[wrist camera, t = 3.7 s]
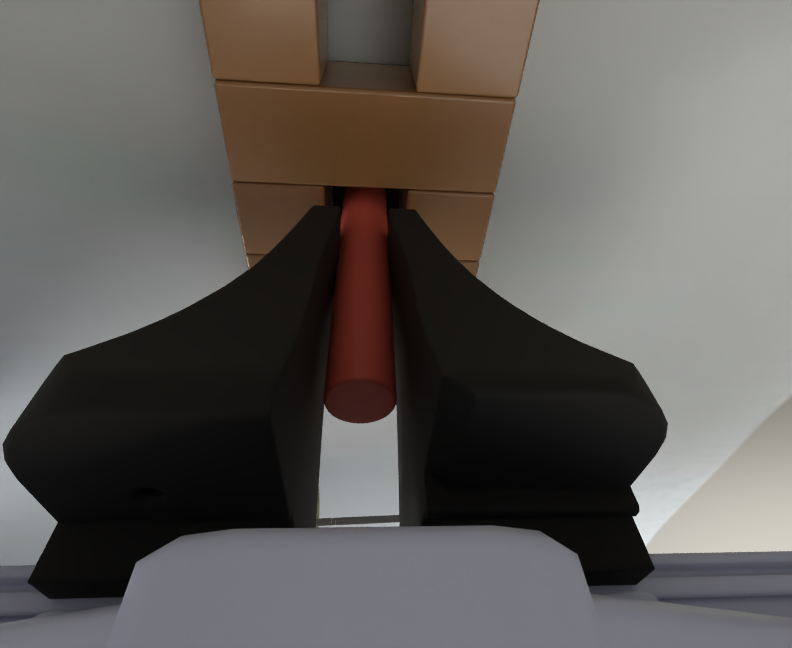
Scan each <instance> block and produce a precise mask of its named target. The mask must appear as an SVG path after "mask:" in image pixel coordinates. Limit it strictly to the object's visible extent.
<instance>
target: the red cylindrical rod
mask: <svg viewBox="0 0 792 648" xmlns="http://www.w3.org/2000/svg"><path fill="white" fill-rule="evenodd" d="M340 232H341V237H340V248H339V259H338V265H337V271H336V277H335V287H334V297H333V307H332V317H331V327H330V338H329V348H328V358H327V368H326V378H325V388H324V398H323V399H324V404H325V406H326V408H327V410H328V411H329V412H330V413H331V414H332V415H333V416H334V417H336V418H338V419H340V420H343V421H346V422H350V423H370V422H374V421H378V420H380V419H382V418H384V417H386V416H387V415H389V414H390V413H391V412H392V410H393V409H394V407H395V405H396V402H397V388H396V370H395V352H394V333H393V315H392V296H391V279H390V269H389V261H388V242H387V234H388V222H387V204H386V188H373V187H350V186H345V187H344V197H343V207H342V217H341V227H340Z"/></svg>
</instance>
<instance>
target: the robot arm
mask: <svg viewBox="0 0 792 648" xmlns="http://www.w3.org/2000/svg"><path fill="white" fill-rule="evenodd" d="M340 237H341V232H340V206H318V205H314V206H312V207H311V208H310V209H309V210H308V211H307V213H306V214H305V215H304V216H303V217H302V218H301V220H300V221H299V222H298V223H297V224H296V225H295V226H294V227H293V229H292V230H291V231H290V232H289V233H288V234H287V235H286V236H285V237H284V238H283V239H282V240H281V241H280V242H279V243H278V244H277V245H276V246H275V247H274V248H273V249H272V250H271V251H270V252H269V253H267V254H266V255H265V256H264V257H263V258H262V259H261V260H260V261H258V262H257V263H256V264H255V265H254V266H253V267H251V268H250V269H249V270H247V271H246V272H245V273H243V274H242V275H240V276H239V277H237V278H236V279H235V280H233V281H232V282H230V283H229V284H227V285H226V286H224V287H222V288H221V289H219V290H217V291H216V292H214V293H212V294H210V295H209V296H207V297H205V298H203V299H201V300H200V301H198V302H196V303H194V304H192V305H191V306H189V307H187V308H185V309H183V310H181V311H179V312H177V313H175V314H172V315H170V316H168V317H166V318H164V319H162V320H159V321H157V322H155V323H152V324H150V325H148V326H145V327H143V328H141V329H138V330H136V331H133V332H130V333H128V334H125V335H122V336H120V337H117V338H114V339H111V340H108V341H105V342H102V343H99V344H97V345H94V346H91V347H88V348H85V349H82V350H79V351H76V352H73V353H70V354H67V355H64V356H63V357H62V358H61V360H60V361H59V362H58V363H57V365H56V366H55V367H54V369H53V370H52V372H51V373H50V374H49V376H48V377H47V378H46V380H45V381H44V382H43V384H42V385H41V387H40V388H39V390H38V391H37V393H36V394H35V395H34V397H33V398H32V400H31V401H30V403H29V404H28V405H27V407H26V408H25V410H24V411H23V413H22V414H21V415H20V417H19V418H18V420H17V421H16V423H15V424H14V426H13V427H12V428H11V430H10V432H9V433H8V435H7V437H6V439H5V441H4V443H3V451H4V459H5V461H6V463H7V465H8V467H9V468H10V470H11V471H12V472H13V474H14V475H15V477H16V478H17V480H18V481H19V482H20V483H21V484H22V485H23V486H24V487H25V488H26V489H27V490H28V491H29V492H30V493H31V494H32V495H33V497H34V498H35V499H36V500H37V501H38V502H39V503H40V504H41V505H42V506H43V507H44V508H45V509H46V510H47V511H48V512H49V513H50V514H51V515H52V516H53V517H54V518H55V520H56V521H57V522H58V524H57V526H56V527H55V529H54V531H53V533H52V535H51V537H50V539H49V541H48V543H47V545H46V547H45V549H44V551H43V553H42V555H41V556H40V558H39V560H38V562H37V564H36V565H29V566H0V648H792V551H786V552H785V551H782V552H781V551H780V552H734V553H733V552H732V553H731V552H727V553H674V554H649V553H648V551H647V549H646V547H645V544H644V542H643V540H642V538H641V535H640V533H639V531H638V528H637V526H636V524H635V522H634V519H633V517H632V516H636V515H637V514H638V513H639V504H638V502H637V500H636V498H635V496H634V494H633V491H632V489H631V487H630V486H631V485H632V483H633V482H634V481H635V480H636V479H637V477H638V476H639V475H640V474H641V472H642V471H643V470H644V469H645V468H646V466H647V465H648V464H649V463H650V461H651V460H652V459H653V458H654V457H655V455H656V454H657V452H658V450H659V449H660V447H661V445H662V444H663V442H664V440H665V438H666V433H667V425H668V423H667V421H666V418H665V416H664V414H663V411H662V409H661V408H660V406H659V404H658V403H657V401H656V399H655V398H654V396H653V394H652V392H651V391H650V389H649V387H648V386H647V384H646V382H645V381H644V379H643V378H642V376H641V374H640V373H639V371H638V370H637V368H636V367H635V366H634V364H633V363H630V362H628V361H626V360H623V359H621V358H618V357H616V356H613V355H611V354H608V353H606V352H604V351H601V350H599V349H596V348H594V347H591V346H589V345H586V344H584V343H582V342H579V341H577V340H575V339H573V338H571V337H569V336H567V335H565V334H563V333H561V332H559V331H557V330H555V329H553V328H551V327H549V326H547V325H546V324H544V323H542V322H540V321H538V320H537V319H535V318H533V317H531V316H530V315H528V314H527V313H525V312H523V311H522V310H520V309H519V308H517V307H515V306H514V305H512V304H511V303H509V302H508V301H506V300H505V299H503V298H502V297H500V296H499V295H498V294H496V293H495V292H494V291H493V290H491V289H490V288H489V287H487V286H486V285H485V284H484V283H482V282H481V281H480V280H479V279H477V278H476V277H475V276H474V275H473V274H472V273H470V272H469V271H468V270H467V269H466V268H465V267H464V266H463V265H462V264H461V263H460V262H459V261H458V260H457V259H456V258H455V257H454V256H453V255H452V254H451V253H450V252H449V251H448V249H447V248H446V247H445V246H444V245H443V244H442V243H441V242H440V240H439V239H438V238H437V237H436V235H435V234H434V233H433V232H432V230H431V229H430V228H429V227H428V225H427V224H426V223H425V221H424V220H423V219H422V217H421V216H420V215H419V214H418V212H417V211H416V210H415V209H391V208H389V218H388V234H387V242H388V261H389V269H390V279H391V296H392V315H393V333H394V352H395V370H396V388H397V432H398V469H399V520H400V527H334V528H316V517H317V501H318V484H319V468H320V453H321V438H322V425H323V411H324V399H323V398H324V388H325V378H326V368H327V358H328V348H329V338H330V327H331V317H332V307H333V297H334V287H335V277H336V271H337V265H338V259H339V248H340Z"/></svg>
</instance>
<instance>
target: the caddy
mask: <svg viewBox="0 0 792 648" xmlns="http://www.w3.org/2000/svg"><path fill="white" fill-rule="evenodd" d="M539 1H540V0H414V10H413V23H412V36H411V49H410V62H409V63H410V66H397V65H382V64H367V63H352V62H337V61H327V59H328V29H327V0H199V5H200V11H201V16H202V22H203V27H204V33H205V38H206V44H207V49H208V55H209V60H210V65H211V71H212V75H213V77H214V78H215V79H216V80H215V82H214V86H215V92H216V97H217V103H218V108H219V114H220V119H221V125H222V130H223V135H224V141H225V146H226V152H227V157H228V163H229V168H230V174H231V178H232V180H233V183H232V187H233V192H234V198H235V203H236V208H237V214H238V219H239V225H240V230H241V236H242V241H243V247H244V251H245V253H246V255H245V256H246V261H247V267H248V270H249V269H250V268H251V267H253V266H254V265H255V264H256V263H257V262H258V261H260V260H261V259H262V258H263V257H264V256H265V255H266V254H267V253H269V252H270V251H271V250H272V249H273V248H274V247H275V246H276V245H277V244H278V243H279V242H280V241H281V240H282V239H283V238H284V237H285V236H286V235H287V234H288V233H289V232H290V231H291V230H292V229H293V227H294V226H295V225H296V224H297V223H298V222H299V221H300V220H301V218H302V217H303V216H304V215H305V214H306V213H307V211H308V210H309V209H310V208H311V207H312V206H314V205H318V206H333V203H332V186H350V187H373V188H395V189H400V193H399V205H398V209H415V210H416V211H417V212H418V214H419V215H420V216H421V217H422V219H423V220H424V221H425V223H426V224H427V225H428V227H429V228H430V229H431V230H432V232H433V233H434V234H435V235H436V237H437V238H438V239H439V240H440V242H441V243H442V244H443V245H444V246H445V247H446V248H447V249H448V251H449V252H450V253H451V254H452V255H453V256H454V257H455V258H456V259H457V260H458V261H459V262H460V263H461V264H462V265H463V266H464V267H465V268H466V269H467V270H468V271H469V272H470V273H472V274H473V275H474V276H475V277H476V275H477V270H478V266H479V261H478V260H479V259H480V257H481V253H482V248H483V244H484V240H485V235H486V231H487V227H488V222H489V218H490V213H491V209H492V205H493V200H494V193H493V192H495V190H496V187H497V182H498V178H499V174H500V169H501V165H502V160H503V156H504V152H505V147H506V143H507V139H508V134H509V130H510V125H511V121H512V117H513V112H514V108H515V103H516V101H515V98H516V97H517V96H518V92H519V88H520V84H521V79H522V75H523V71H524V66H525V62H526V57H527V53H528V49H529V44H530V40H531V36H532V31H533V27H534V23H535V18H536V14H537V9H538V5H539ZM341 217H342V215H340V227H341ZM388 218H389V217H387V222H388ZM396 405H397V402H396Z"/></svg>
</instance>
